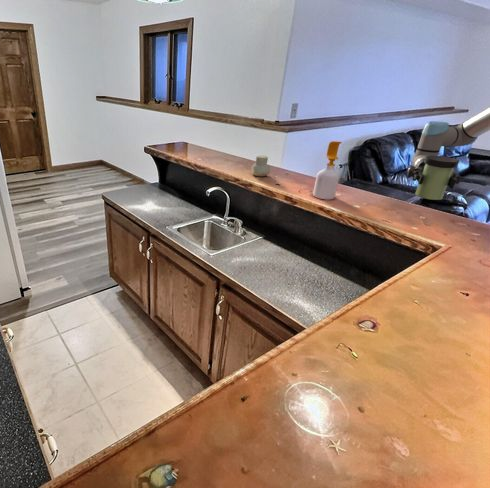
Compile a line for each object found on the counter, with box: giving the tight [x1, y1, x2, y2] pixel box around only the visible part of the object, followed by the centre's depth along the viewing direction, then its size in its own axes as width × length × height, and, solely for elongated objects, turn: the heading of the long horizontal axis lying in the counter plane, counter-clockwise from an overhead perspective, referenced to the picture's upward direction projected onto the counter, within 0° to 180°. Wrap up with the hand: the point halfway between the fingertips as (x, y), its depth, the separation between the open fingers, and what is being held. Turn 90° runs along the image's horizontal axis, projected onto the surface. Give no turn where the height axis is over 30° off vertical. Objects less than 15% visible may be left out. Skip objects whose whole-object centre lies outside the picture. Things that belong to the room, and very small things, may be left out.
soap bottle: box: [312, 140, 343, 201], centre depth 152 cm, size 9×9×25 cm
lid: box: [424, 155, 460, 169], centre depth 117 cm, size 9×9×2 cm
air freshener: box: [250, 154, 271, 177], centre depth 186 cm, size 11×8×10 cm
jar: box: [414, 164, 455, 201], centre depth 120 cm, size 8×8×13 cm
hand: (437, 182), depth 116 cm, fingers closed on jar, 8 cm apart
